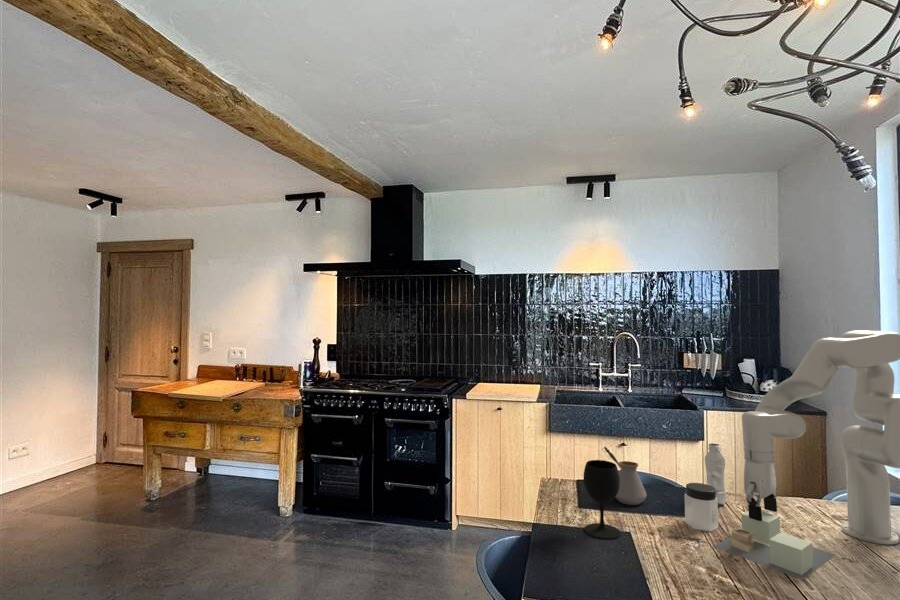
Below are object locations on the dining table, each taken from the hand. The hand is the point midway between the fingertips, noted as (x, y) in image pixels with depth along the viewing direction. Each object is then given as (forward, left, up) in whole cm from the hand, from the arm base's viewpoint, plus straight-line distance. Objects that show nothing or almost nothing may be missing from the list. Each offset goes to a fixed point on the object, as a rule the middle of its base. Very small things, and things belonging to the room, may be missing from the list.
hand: (763, 514), depth 136 cm
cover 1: (+1, 0, -6) cm, 6 cm away
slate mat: (+7, +5, -7) cm, 11 cm away
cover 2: (+12, +11, -6) cm, 17 cm away
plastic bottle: (-16, -21, -7) cm, 28 cm away
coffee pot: (+5, -44, -7) cm, 45 cm away
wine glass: (+35, -29, -7) cm, 46 cm away
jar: (+7, -14, -7) cm, 17 cm away
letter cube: (+12, 0, -6) cm, 13 cm away
